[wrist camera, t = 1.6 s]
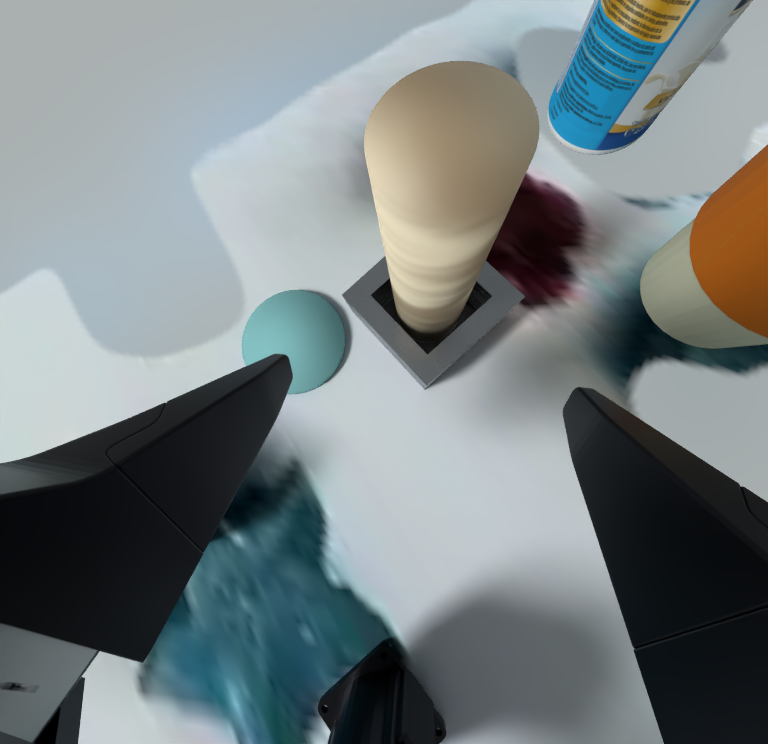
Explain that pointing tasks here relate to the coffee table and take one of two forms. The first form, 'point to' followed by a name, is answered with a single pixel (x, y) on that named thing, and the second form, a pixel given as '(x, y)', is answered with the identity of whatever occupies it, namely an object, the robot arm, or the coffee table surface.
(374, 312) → the socket block
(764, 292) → the reusable coffee cup
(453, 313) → the plug
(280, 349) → the mat
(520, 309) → the coffee table surface
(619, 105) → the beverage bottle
